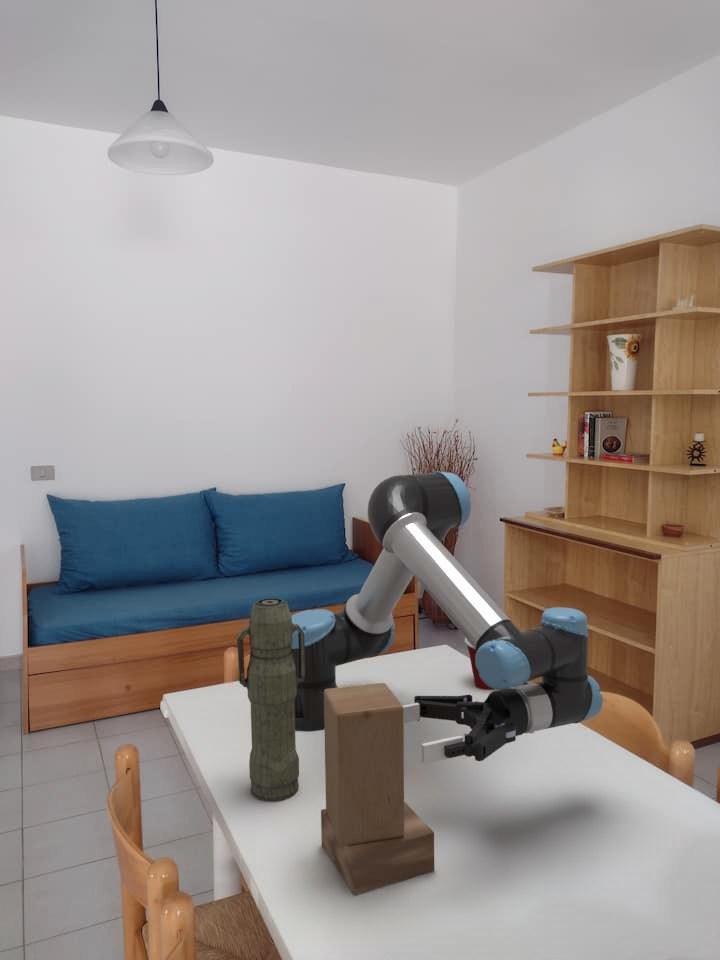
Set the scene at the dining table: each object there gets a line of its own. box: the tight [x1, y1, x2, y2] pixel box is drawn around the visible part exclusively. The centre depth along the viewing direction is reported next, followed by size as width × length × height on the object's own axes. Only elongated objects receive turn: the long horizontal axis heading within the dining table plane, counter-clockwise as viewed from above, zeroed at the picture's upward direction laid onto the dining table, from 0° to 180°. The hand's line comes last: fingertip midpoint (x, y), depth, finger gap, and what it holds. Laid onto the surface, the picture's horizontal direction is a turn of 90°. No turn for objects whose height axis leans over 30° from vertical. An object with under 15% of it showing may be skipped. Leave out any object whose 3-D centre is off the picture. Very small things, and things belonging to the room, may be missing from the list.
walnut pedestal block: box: [320, 801, 435, 896], centre depth 111 cm, size 13×13×6 cm
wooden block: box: [324, 682, 405, 846], centre depth 109 cm, size 10×10×20 cm
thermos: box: [236, 597, 305, 803], centre depth 130 cm, size 9×12×35 cm
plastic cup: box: [464, 637, 494, 691], centre depth 180 cm, size 11×11×12 cm
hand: (401, 735), depth 111 cm, fingers open, 13 cm apart
